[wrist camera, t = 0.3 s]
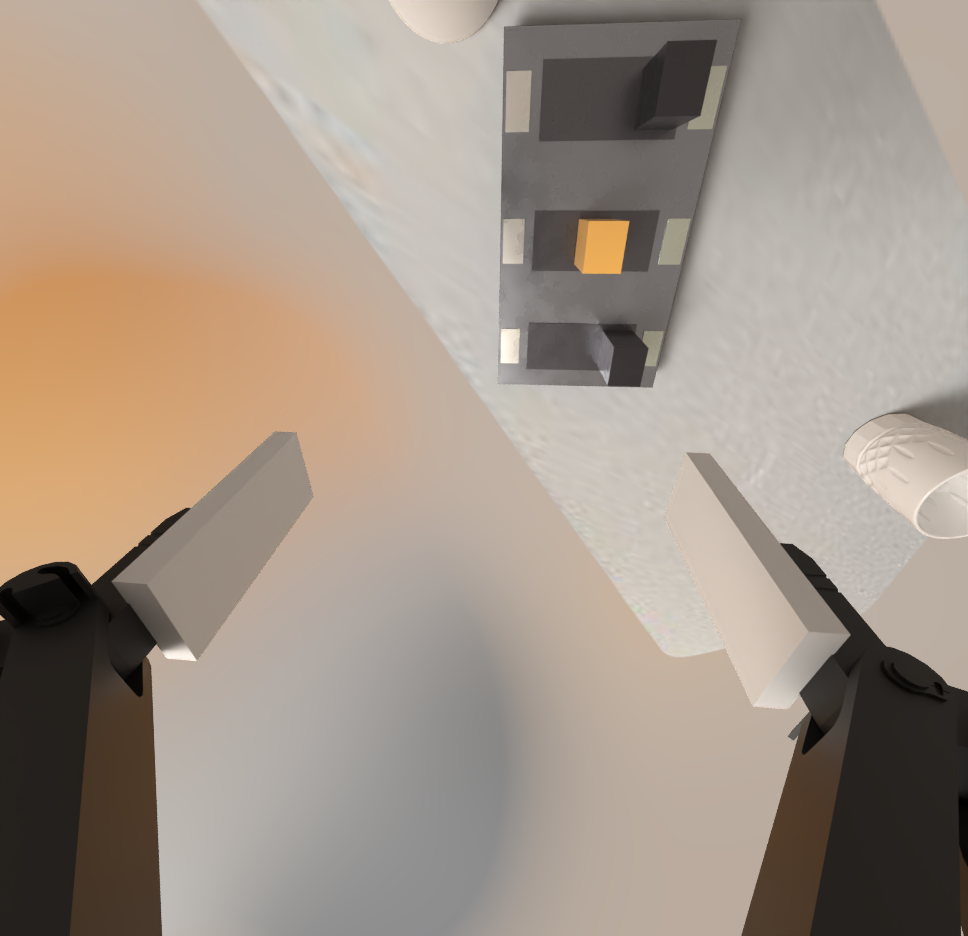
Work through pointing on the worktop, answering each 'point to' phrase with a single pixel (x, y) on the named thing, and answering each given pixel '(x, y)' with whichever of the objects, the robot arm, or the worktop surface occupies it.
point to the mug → (444, 17)
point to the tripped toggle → (600, 245)
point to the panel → (601, 189)
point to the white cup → (915, 471)
